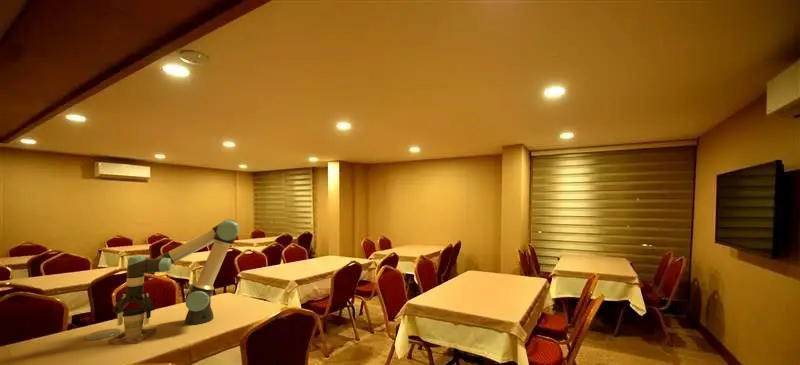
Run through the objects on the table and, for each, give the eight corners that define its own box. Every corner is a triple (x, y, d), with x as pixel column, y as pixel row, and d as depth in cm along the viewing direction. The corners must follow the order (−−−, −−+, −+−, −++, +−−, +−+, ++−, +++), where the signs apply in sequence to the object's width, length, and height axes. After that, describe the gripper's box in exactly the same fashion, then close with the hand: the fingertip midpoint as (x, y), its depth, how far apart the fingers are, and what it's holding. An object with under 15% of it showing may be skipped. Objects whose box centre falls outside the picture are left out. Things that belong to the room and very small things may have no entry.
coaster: (126, 329, 189) (126, 327, 189) (106, 339, 175) (106, 337, 175) (100, 330, 188) (100, 329, 188) (78, 341, 174) (78, 339, 174)
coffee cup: (131, 342, 171) (132, 313, 172) (116, 341, 173) (117, 312, 174) (149, 334, 181) (150, 307, 182) (135, 333, 183) (135, 306, 184)
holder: (156, 332, 185) (156, 328, 185) (137, 343, 171) (137, 338, 171) (129, 333, 184) (129, 329, 184) (108, 344, 170) (108, 340, 170)
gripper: (163, 282, 184) (161, 321, 182) (116, 283, 182) (114, 322, 180) (154, 286, 176) (152, 326, 175) (105, 287, 174) (102, 327, 173)
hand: (133, 324), depth 178 cm, fingers open, 13 cm apart
